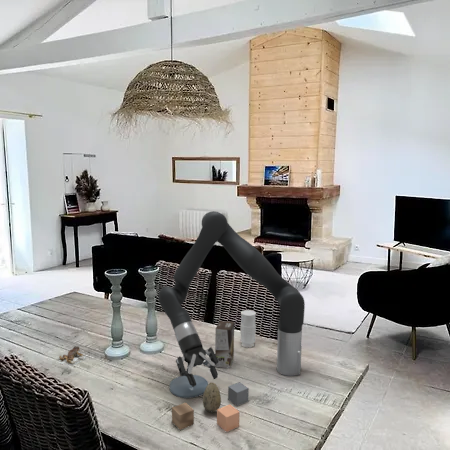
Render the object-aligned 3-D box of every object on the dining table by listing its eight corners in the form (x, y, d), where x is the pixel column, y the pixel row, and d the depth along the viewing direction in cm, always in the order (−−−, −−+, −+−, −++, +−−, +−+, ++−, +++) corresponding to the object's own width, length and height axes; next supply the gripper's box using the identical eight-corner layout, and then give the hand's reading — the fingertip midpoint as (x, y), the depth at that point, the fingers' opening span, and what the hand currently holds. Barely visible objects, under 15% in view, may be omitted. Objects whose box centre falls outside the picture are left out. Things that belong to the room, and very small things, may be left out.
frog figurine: (66, 351, 181) (66, 343, 181) (91, 354, 178) (91, 346, 178) (49, 363, 170) (49, 354, 170) (76, 367, 167) (75, 358, 167)
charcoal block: (239, 395, 148) (239, 381, 147) (248, 401, 144) (248, 388, 143) (228, 399, 145) (228, 386, 144) (236, 406, 141) (237, 392, 140)
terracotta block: (229, 418, 134) (229, 404, 134) (239, 426, 130) (239, 411, 130) (216, 424, 131) (217, 409, 131) (226, 432, 127) (226, 417, 127)
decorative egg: (214, 418, 134) (214, 389, 132) (199, 412, 137) (199, 384, 136) (224, 409, 139) (224, 381, 137) (209, 404, 142) (209, 376, 141)
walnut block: (185, 416, 135) (185, 402, 134) (193, 424, 131) (193, 409, 130) (172, 422, 132) (171, 407, 131) (179, 430, 128) (179, 415, 127)
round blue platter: (212, 380, 157) (212, 377, 157) (201, 400, 144) (201, 397, 144) (177, 375, 161) (177, 372, 161) (163, 394, 147) (163, 391, 147)
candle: (237, 346, 186) (238, 314, 184) (243, 340, 193) (243, 309, 191) (252, 349, 184) (253, 316, 182) (257, 342, 190) (258, 311, 188)
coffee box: (230, 368, 167) (230, 330, 164) (214, 366, 168) (214, 328, 165) (234, 358, 175) (234, 321, 173) (219, 356, 177) (219, 320, 174)
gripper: (173, 338, 140) (191, 384, 133) (208, 328, 149) (227, 371, 141) (166, 347, 145) (183, 392, 138) (200, 337, 154) (218, 379, 146)
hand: (205, 382), depth 140 cm, fingers open, 8 cm apart
